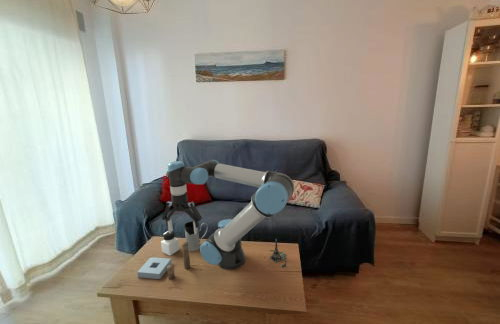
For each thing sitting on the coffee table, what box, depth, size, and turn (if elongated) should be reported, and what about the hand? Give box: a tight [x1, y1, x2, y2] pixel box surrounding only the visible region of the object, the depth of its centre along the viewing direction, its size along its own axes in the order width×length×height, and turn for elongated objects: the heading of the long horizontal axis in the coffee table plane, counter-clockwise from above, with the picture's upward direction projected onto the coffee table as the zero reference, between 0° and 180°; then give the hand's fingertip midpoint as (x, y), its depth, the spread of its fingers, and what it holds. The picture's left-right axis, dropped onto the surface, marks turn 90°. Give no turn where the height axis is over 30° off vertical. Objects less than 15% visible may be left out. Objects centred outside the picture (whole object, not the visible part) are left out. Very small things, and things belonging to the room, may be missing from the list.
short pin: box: [166, 264, 175, 280], centre depth 118 cm, size 3×3×6 cm
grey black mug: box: [184, 220, 209, 252], centre depth 143 cm, size 9×14×15 cm, turn 118°
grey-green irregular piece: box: [269, 238, 288, 269], centre depth 128 cm, size 15×10×13 cm
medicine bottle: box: [160, 230, 180, 256], centre depth 139 cm, size 7×7×12 cm
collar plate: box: [136, 257, 173, 280], centre depth 124 cm, size 12×12×3 cm
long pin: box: [181, 241, 191, 270], centre depth 124 cm, size 3×3×14 cm
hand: (183, 232), depth 121 cm, fingers open, 13 cm apart
